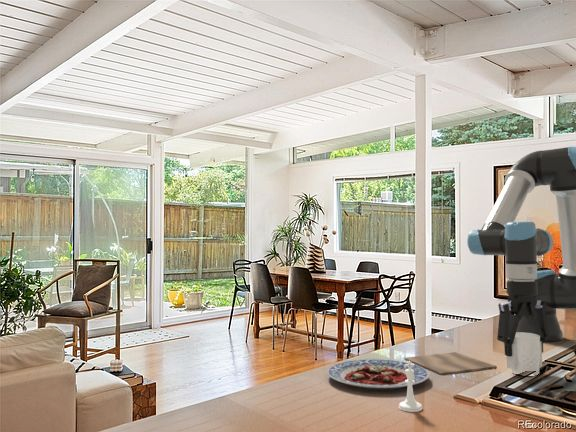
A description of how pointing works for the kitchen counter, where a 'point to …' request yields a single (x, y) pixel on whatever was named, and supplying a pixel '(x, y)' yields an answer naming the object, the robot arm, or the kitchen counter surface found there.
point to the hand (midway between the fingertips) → (524, 366)
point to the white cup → (527, 352)
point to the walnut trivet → (449, 363)
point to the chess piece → (410, 393)
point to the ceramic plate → (376, 373)
